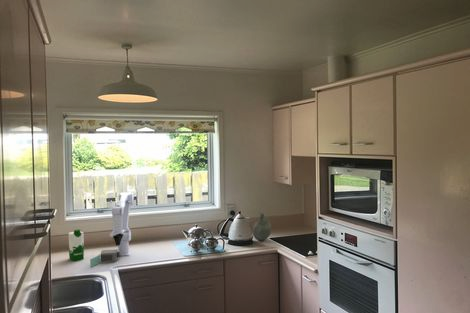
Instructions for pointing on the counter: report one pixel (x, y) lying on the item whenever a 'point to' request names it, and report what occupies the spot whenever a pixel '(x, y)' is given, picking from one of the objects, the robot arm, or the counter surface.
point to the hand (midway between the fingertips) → (117, 245)
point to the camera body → (109, 255)
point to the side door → (95, 261)
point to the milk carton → (76, 245)
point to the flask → (261, 229)
